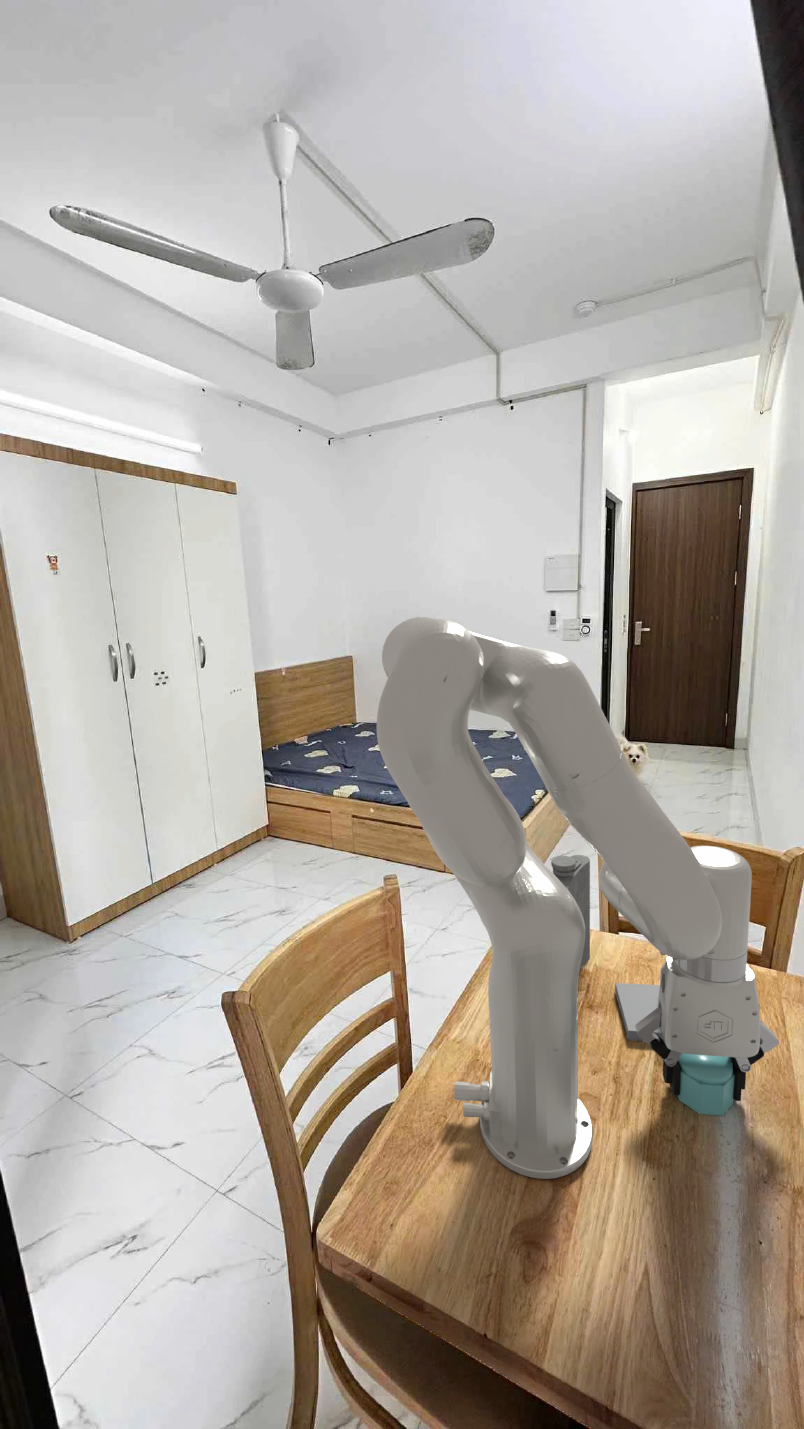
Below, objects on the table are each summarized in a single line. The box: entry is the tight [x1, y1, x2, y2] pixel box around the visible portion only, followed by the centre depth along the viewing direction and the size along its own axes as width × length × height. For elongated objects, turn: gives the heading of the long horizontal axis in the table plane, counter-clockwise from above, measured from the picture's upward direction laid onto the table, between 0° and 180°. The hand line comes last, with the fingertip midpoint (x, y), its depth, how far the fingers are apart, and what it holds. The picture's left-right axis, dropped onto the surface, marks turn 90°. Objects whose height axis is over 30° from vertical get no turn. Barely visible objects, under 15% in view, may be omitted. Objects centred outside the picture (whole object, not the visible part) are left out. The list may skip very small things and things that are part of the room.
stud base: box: [614, 982, 663, 1042], centre depth 84 cm, size 14×10×2 cm
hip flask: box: [550, 854, 591, 971], centre depth 92 cm, size 16×4×20 cm, turn 148°
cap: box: [677, 1053, 735, 1117], centre depth 71 cm, size 6×6×5 cm
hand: (702, 1087), depth 71 cm, fingers closed on cap, 6 cm apart
